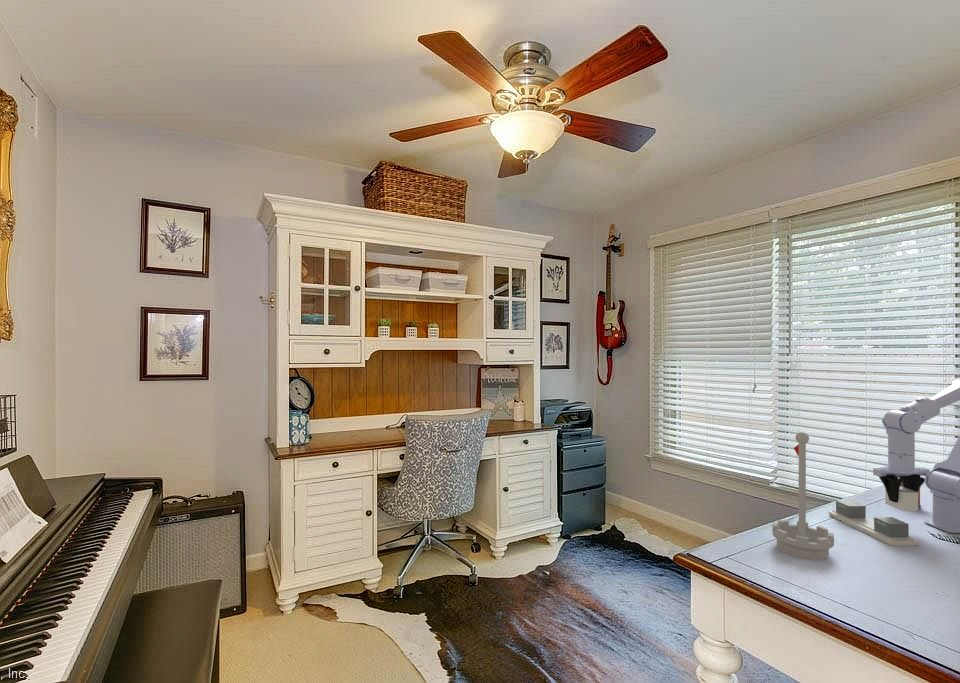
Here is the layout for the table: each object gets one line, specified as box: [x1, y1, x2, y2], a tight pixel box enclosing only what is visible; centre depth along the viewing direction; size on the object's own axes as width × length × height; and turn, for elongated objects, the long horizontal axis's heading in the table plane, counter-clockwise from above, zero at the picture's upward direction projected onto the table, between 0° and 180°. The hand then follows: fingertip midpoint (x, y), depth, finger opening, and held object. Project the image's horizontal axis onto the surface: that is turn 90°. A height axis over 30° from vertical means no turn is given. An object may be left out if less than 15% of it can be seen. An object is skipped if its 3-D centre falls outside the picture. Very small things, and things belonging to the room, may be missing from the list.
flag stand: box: [771, 431, 835, 561], centre depth 124 cm, size 13×13×30 cm
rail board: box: [828, 499, 918, 546], centre depth 138 cm, size 7×22×5 cm, turn 1°
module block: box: [884, 486, 919, 512], centre depth 138 cm, size 4×6×5 cm, turn 1°
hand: (901, 501), depth 138 cm, fingers closed on module block, 4 cm apart
